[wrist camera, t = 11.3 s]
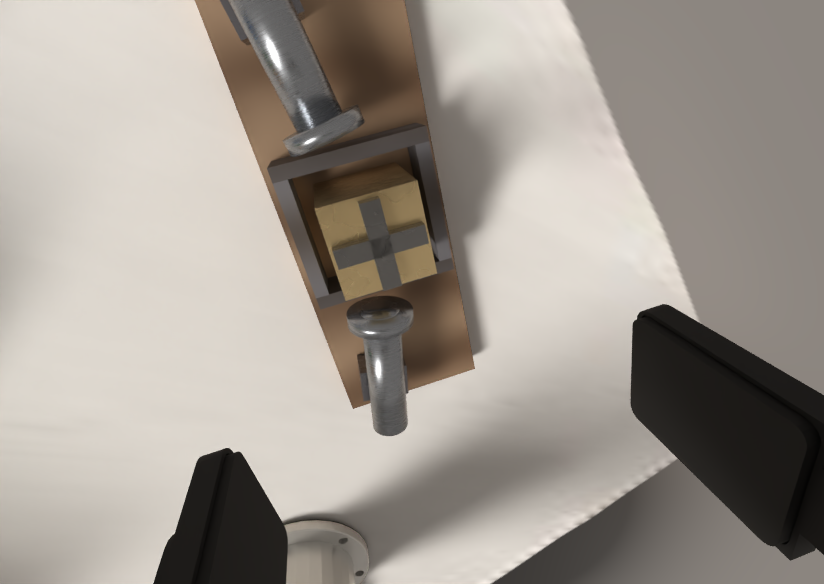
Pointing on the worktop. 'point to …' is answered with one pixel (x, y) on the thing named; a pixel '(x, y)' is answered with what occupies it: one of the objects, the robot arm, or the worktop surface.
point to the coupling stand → (353, 170)
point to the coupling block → (374, 229)
